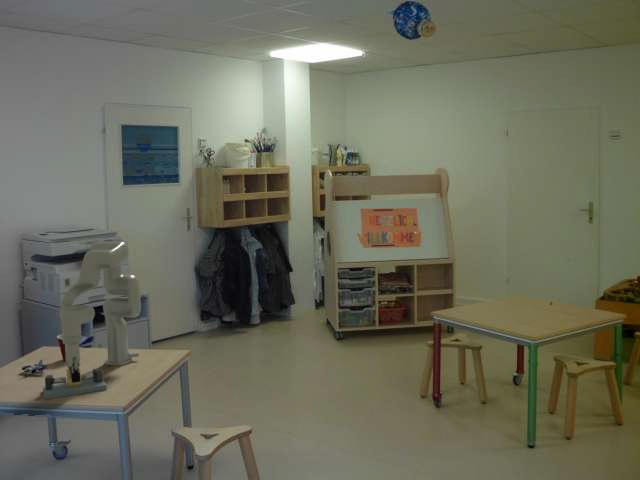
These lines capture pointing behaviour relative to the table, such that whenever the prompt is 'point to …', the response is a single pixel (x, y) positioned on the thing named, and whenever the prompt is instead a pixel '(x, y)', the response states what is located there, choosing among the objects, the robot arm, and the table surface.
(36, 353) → the table surface
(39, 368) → the toy airplane
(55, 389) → the board
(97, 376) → the shaft
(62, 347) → the plastic cup
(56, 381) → the shaft
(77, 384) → the olive yellow block
